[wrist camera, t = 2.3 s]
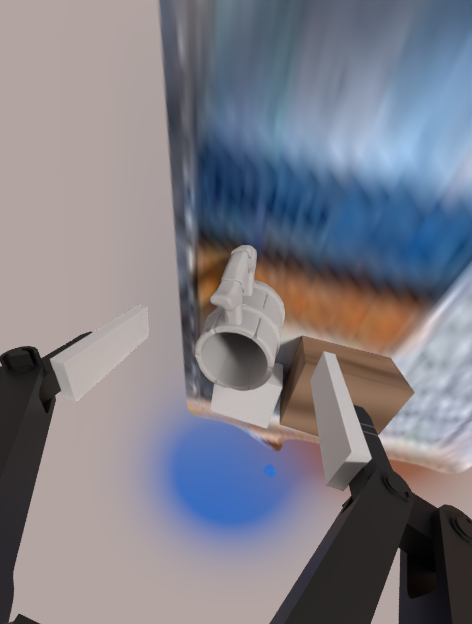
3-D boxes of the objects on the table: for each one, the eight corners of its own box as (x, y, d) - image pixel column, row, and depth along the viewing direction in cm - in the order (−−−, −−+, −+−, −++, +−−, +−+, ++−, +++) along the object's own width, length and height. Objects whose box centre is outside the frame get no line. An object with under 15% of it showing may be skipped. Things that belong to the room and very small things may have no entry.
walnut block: (302, 335, 24) (305, 363, 20) (390, 358, 23) (414, 392, 19) (280, 392, 29) (279, 424, 25) (353, 413, 28) (365, 450, 24)
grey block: (225, 348, 28) (216, 368, 24) (283, 364, 27) (282, 387, 23) (218, 388, 32) (210, 410, 28) (269, 403, 31) (266, 428, 27)
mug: (223, 332, 27) (181, 411, 16) (216, 237, 22) (149, 264, 11) (282, 338, 25) (278, 429, 15) (291, 237, 20) (294, 268, 9)
